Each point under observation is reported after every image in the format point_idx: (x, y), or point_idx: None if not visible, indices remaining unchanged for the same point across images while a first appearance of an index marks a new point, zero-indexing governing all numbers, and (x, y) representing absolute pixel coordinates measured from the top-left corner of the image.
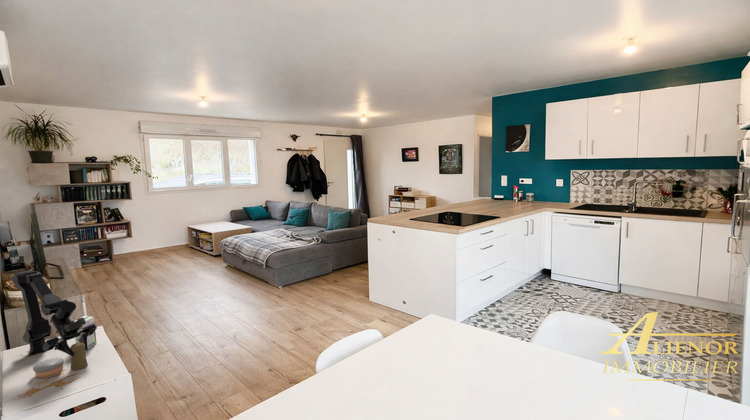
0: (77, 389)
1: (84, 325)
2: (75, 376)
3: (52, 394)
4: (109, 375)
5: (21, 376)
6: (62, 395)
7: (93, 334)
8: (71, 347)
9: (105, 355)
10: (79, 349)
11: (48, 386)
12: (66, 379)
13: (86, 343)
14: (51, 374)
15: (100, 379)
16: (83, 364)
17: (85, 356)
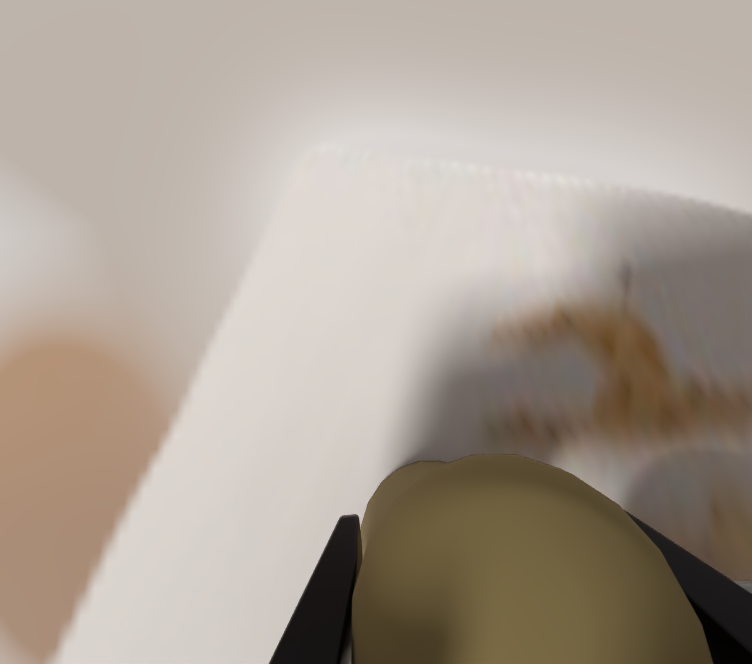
0: (553, 191)
1: None
2: (515, 374)
3: (686, 253)
4: (362, 192)
5: None
6: (635, 196)
7: None
8: (704, 642)
9: (155, 581)
10: (512, 457)
11: (710, 394)
12: (580, 387)
13: (299, 636)
14: None
15: (418, 191)
16: (423, 466)
17: (383, 512)
